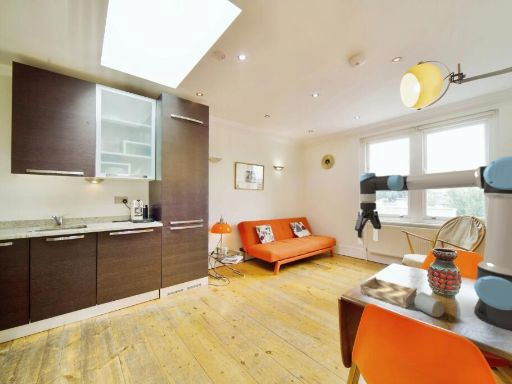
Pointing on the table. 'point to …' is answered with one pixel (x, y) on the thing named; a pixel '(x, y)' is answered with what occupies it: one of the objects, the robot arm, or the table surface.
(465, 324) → the table surface
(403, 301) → the crate
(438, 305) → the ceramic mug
